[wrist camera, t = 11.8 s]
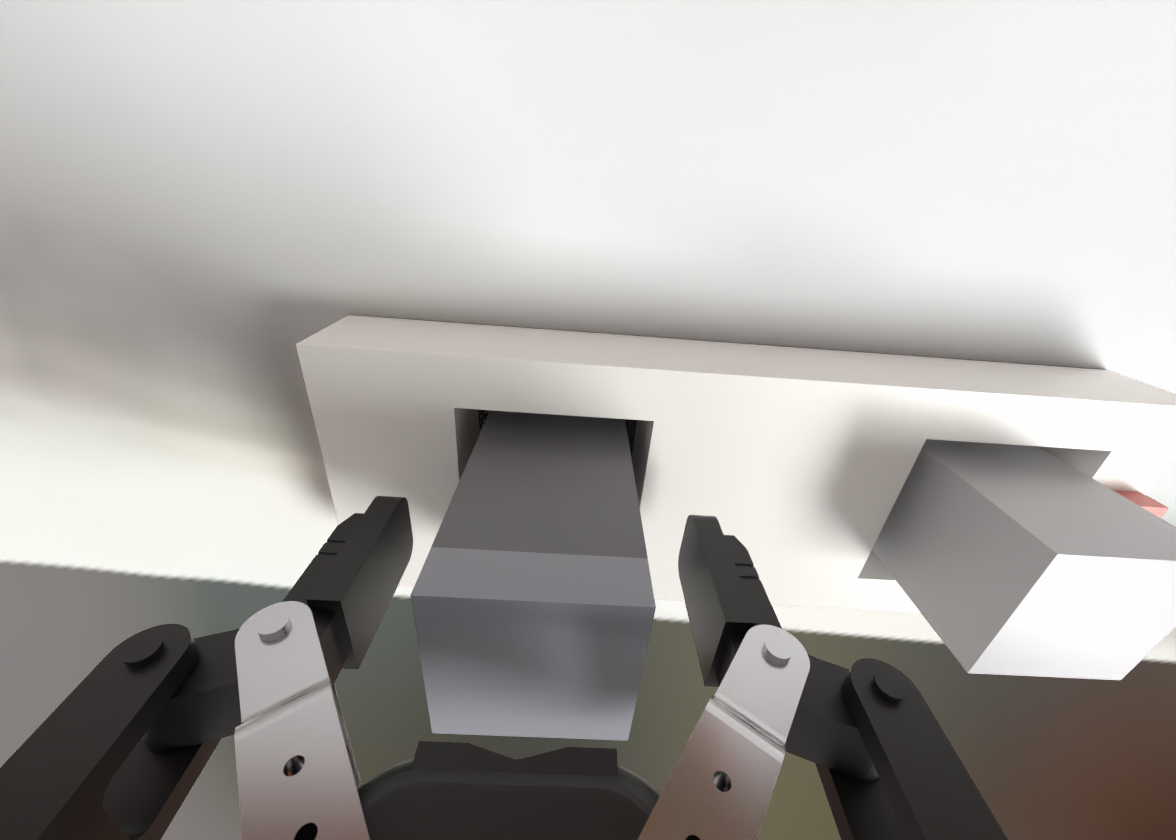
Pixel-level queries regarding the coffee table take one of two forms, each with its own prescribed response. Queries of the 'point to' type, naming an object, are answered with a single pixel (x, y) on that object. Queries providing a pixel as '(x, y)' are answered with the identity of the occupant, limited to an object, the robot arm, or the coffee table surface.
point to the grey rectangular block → (538, 585)
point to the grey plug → (1029, 562)
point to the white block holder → (715, 434)
